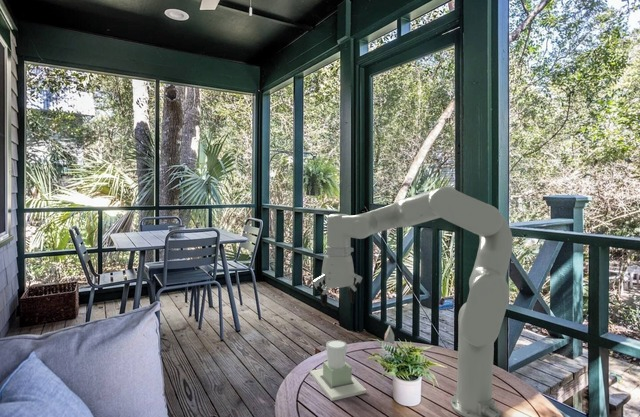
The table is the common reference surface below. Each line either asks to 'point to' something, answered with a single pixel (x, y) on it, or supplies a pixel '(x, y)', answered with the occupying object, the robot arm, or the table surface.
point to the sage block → (337, 374)
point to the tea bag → (389, 335)
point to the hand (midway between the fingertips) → (337, 304)
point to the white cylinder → (336, 353)
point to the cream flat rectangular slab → (339, 390)
